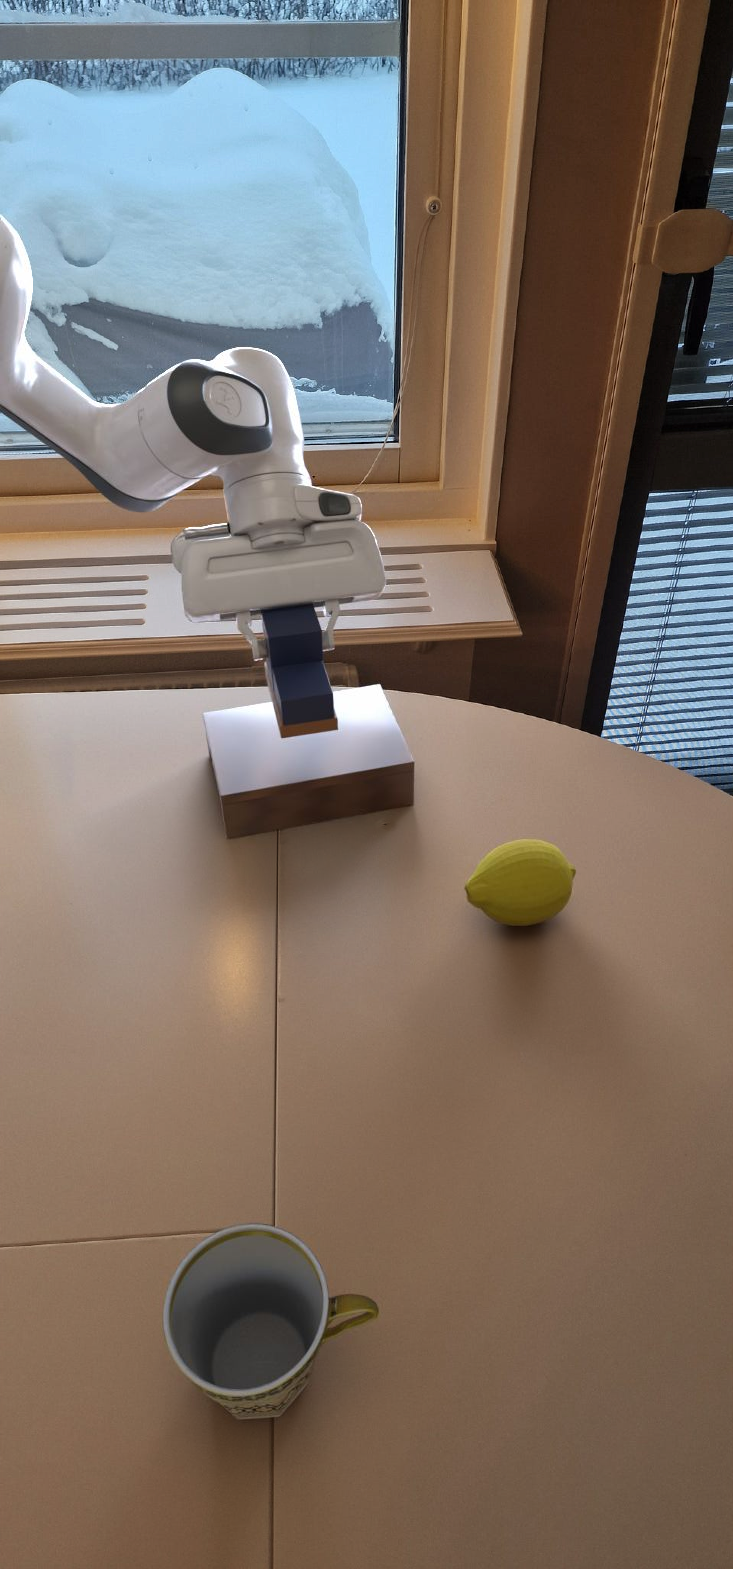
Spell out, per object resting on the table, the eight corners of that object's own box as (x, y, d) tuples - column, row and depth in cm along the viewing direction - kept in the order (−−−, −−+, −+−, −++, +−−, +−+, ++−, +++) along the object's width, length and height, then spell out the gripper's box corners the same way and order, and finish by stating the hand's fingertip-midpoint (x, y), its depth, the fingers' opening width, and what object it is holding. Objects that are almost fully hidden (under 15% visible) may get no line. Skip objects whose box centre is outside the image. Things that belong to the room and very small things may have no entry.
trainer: (338, 730, 100) (334, 661, 95) (281, 738, 99) (274, 670, 94) (318, 666, 108) (313, 600, 103) (265, 674, 107) (258, 607, 102)
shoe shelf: (226, 839, 106) (220, 796, 102) (208, 755, 117) (202, 712, 113) (413, 804, 110) (414, 761, 106) (380, 725, 120) (380, 683, 116)
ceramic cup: (178, 1456, 65) (154, 1400, 58) (190, 1292, 72) (170, 1226, 66) (384, 1443, 65) (383, 1386, 59) (375, 1282, 73) (373, 1215, 66)
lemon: (560, 874, 102) (569, 815, 96) (584, 935, 96) (596, 875, 91) (452, 888, 101) (455, 829, 95) (470, 950, 95) (475, 891, 90)
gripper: (165, 520, 98) (188, 662, 98) (375, 495, 101) (399, 633, 101) (169, 540, 105) (190, 674, 104) (366, 516, 107) (388, 646, 107)
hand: (294, 654), depth 102 cm, fingers closed on trainer, 5 cm apart
